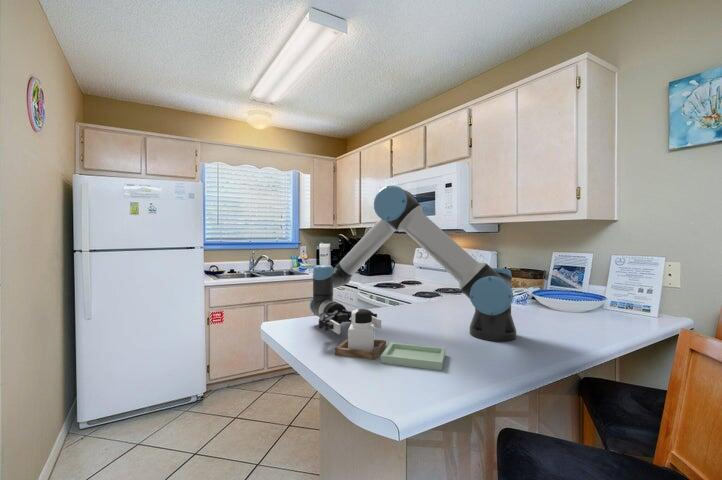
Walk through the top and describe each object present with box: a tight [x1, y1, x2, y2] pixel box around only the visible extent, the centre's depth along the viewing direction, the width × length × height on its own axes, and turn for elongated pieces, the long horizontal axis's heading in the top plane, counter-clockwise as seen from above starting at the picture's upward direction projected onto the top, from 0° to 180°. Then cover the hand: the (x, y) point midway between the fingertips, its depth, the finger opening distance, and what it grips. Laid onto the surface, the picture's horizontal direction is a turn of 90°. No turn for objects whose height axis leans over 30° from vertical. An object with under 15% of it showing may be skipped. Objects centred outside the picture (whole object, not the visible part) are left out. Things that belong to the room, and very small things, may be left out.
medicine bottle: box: [347, 308, 375, 351], centre depth 103 cm, size 7×7×12 cm
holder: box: [334, 337, 387, 360], centre depth 103 cm, size 12×12×2 cm
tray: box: [380, 341, 447, 371], centre depth 96 cm, size 16×12×2 cm
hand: (360, 326), depth 103 cm, fingers open, 13 cm apart
